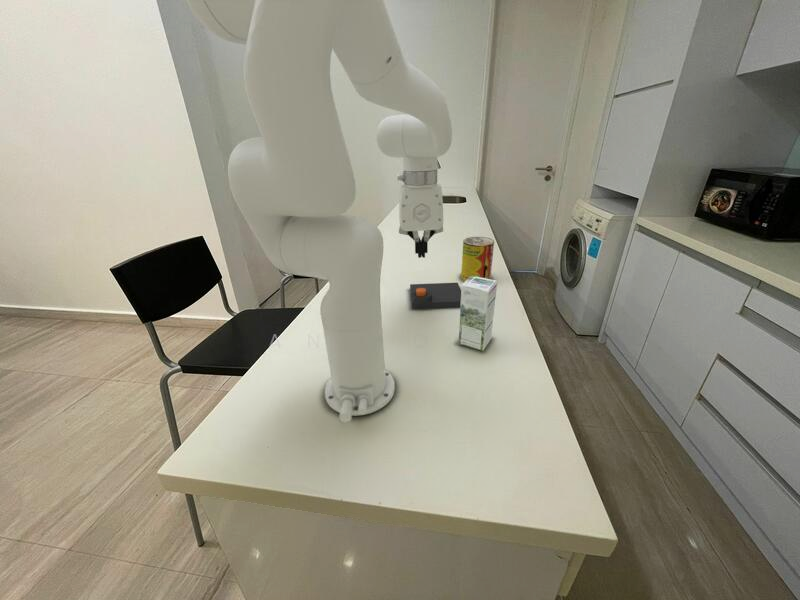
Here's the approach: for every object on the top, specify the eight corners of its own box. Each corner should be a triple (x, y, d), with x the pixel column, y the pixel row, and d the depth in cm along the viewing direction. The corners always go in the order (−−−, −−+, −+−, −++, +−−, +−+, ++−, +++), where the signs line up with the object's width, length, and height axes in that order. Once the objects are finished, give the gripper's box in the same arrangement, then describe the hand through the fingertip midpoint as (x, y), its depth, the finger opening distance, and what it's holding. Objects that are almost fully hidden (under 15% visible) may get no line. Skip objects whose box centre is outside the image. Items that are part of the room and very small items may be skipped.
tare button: (426, 297, 86) (426, 291, 86) (416, 297, 86) (416, 292, 86) (425, 292, 89) (425, 287, 88) (415, 293, 89) (415, 287, 88)
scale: (465, 308, 86) (466, 296, 85) (411, 310, 86) (411, 298, 85) (457, 288, 98) (457, 277, 96) (409, 290, 98) (409, 279, 96)
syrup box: (492, 338, 74) (498, 279, 67) (482, 352, 69) (488, 290, 63) (467, 332, 76) (471, 274, 70) (457, 344, 72) (460, 284, 65)
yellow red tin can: (470, 285, 99) (473, 247, 93) (456, 275, 107) (457, 238, 101) (496, 281, 101) (500, 243, 96) (480, 270, 109) (483, 235, 104)
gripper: (387, 182, 71) (391, 262, 79) (456, 179, 71) (453, 259, 79) (387, 177, 78) (391, 252, 86) (451, 175, 78) (448, 249, 86)
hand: (421, 255), depth 83 cm, fingers closed
